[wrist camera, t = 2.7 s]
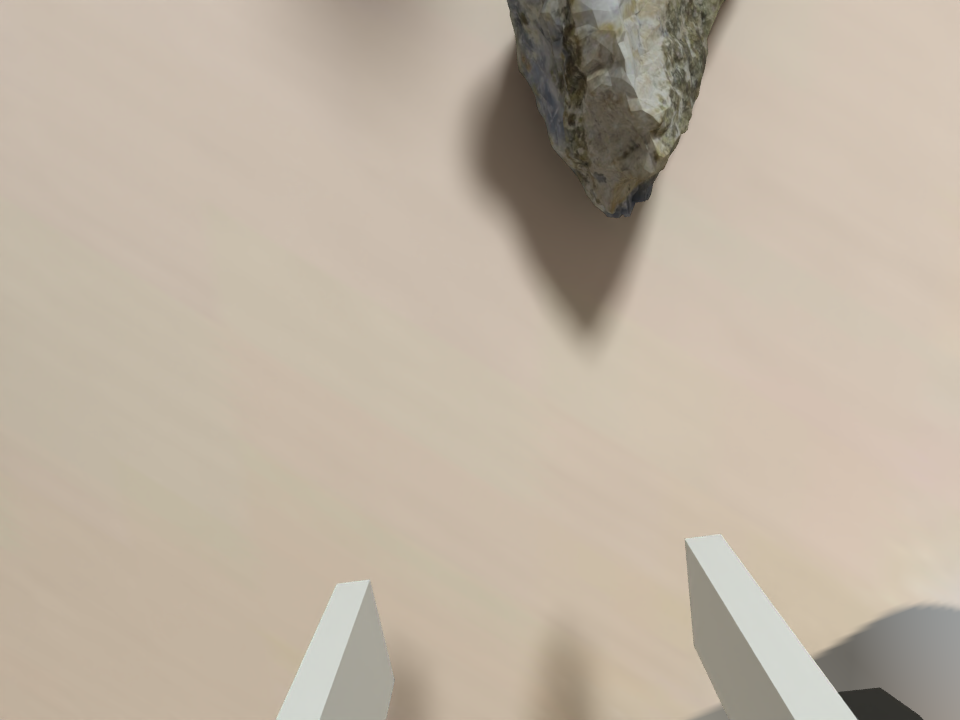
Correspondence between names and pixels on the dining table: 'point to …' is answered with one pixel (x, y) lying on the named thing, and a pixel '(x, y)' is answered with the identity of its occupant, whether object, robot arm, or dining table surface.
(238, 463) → the dining table surface
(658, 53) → the rock
